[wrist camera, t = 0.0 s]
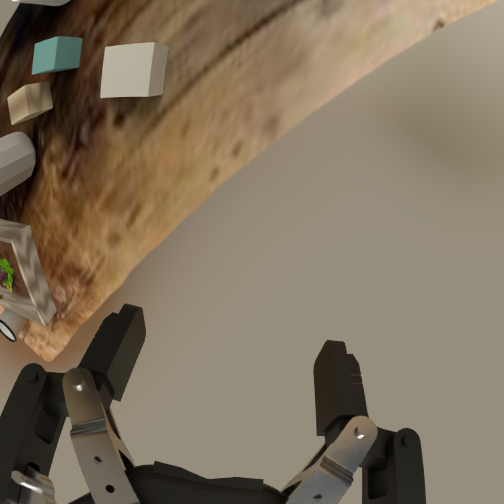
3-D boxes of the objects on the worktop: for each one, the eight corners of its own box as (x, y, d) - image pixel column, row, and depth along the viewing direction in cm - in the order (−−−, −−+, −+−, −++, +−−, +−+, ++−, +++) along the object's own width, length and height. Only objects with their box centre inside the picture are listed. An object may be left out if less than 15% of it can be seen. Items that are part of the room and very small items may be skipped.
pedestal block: (124, 49, 28) (105, 47, 24) (169, 46, 28) (154, 42, 24) (119, 94, 32) (100, 97, 28) (163, 94, 32) (147, 96, 28)
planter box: (-23, 213, 44) (-38, 225, 39) (30, 225, 45) (13, 240, 40) (2, 288, 58) (-9, 300, 53) (57, 310, 58) (46, 326, 53)
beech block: (31, 92, 30) (7, 97, 25) (49, 81, 30) (24, 85, 24) (35, 117, 33) (11, 125, 28) (53, 107, 32) (28, 114, 27)
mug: (9, 294, 59) (-7, 314, 52) (30, 313, 62) (15, 334, 54) (9, 313, 65) (-5, 331, 57) (29, 330, 67) (16, 349, 60)
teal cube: (60, 43, 26) (35, 43, 21) (82, 38, 26) (58, 36, 21) (56, 71, 29) (31, 74, 24) (79, 67, 29) (54, 69, 24)
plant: (23, 229, 46) (-8, 257, 37) (49, 297, 57) (27, 327, 47) (-16, 226, 47) (-43, 249, 37) (7, 285, 57) (-13, 310, 48)
